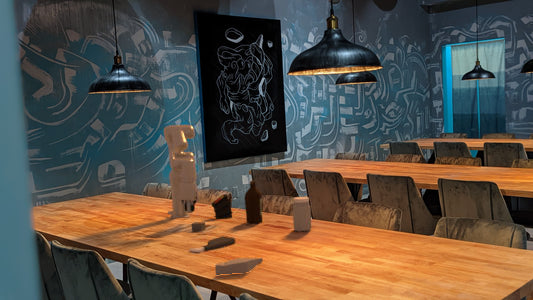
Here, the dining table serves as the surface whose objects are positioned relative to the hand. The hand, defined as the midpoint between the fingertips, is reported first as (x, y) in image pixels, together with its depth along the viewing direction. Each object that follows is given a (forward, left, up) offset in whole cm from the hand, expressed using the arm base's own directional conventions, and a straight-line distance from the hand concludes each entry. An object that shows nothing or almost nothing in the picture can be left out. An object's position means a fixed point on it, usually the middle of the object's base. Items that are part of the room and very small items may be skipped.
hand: (189, 210), depth 325 cm
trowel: (+63, -74, -10) cm, 98 cm away
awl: (0, 0, -1) cm, 1 cm away
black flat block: (+9, +26, -10) cm, 29 cm away
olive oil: (+34, +18, -10) cm, 40 cm away
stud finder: (+12, -12, -9) cm, 19 cm away
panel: (+5, -8, -10) cm, 13 cm away
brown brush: (+35, -42, -10) cm, 55 cm away
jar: (+69, +1, -10) cm, 69 cm away
